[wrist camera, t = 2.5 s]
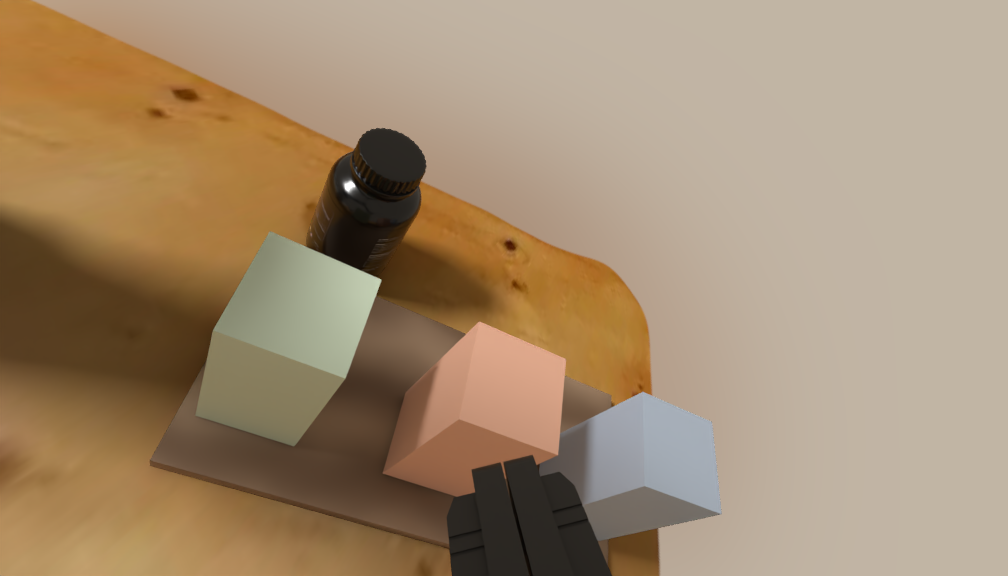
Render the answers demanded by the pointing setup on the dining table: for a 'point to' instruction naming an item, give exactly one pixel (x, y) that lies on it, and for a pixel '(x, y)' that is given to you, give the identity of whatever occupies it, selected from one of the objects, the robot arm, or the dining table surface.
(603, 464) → the slate block
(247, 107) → the dining table surface
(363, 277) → the sage block
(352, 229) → the supplement bottle
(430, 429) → the terracotta block
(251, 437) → the wooden board
